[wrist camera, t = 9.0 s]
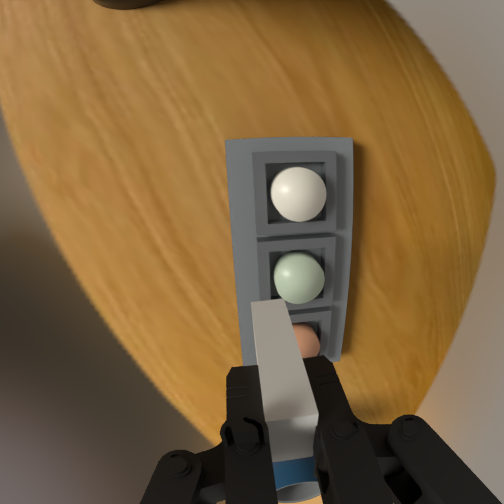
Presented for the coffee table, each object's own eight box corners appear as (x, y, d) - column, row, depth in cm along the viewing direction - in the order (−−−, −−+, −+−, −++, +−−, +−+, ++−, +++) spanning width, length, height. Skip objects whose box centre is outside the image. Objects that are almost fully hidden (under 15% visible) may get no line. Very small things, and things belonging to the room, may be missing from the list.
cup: (311, 394, 39) (337, 479, 25) (294, 422, 41) (312, 501, 27) (267, 390, 38) (281, 482, 24) (253, 418, 40) (262, 503, 26)
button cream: (268, 167, 26) (271, 168, 24) (318, 165, 26) (326, 167, 24) (270, 216, 28) (274, 223, 25) (318, 214, 28) (326, 220, 26)
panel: (225, 140, 27) (224, 139, 24) (345, 138, 28) (358, 137, 24) (243, 362, 36) (244, 380, 33) (335, 351, 36) (343, 368, 33)
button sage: (271, 251, 29) (275, 260, 26) (318, 248, 29) (325, 256, 27) (273, 294, 30) (276, 306, 28) (317, 290, 30) (323, 301, 28)
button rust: (273, 322, 31) (277, 335, 29) (315, 317, 32) (321, 330, 29) (274, 355, 33) (277, 368, 31) (313, 350, 33) (318, 363, 31)
